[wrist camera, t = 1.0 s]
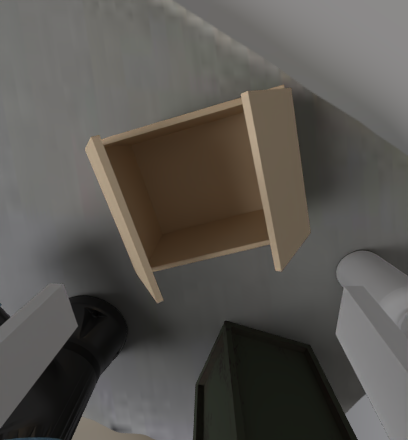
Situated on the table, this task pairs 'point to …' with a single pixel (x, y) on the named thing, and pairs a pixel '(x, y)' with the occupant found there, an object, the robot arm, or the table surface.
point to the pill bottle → (378, 283)
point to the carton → (191, 185)
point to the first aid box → (265, 391)
